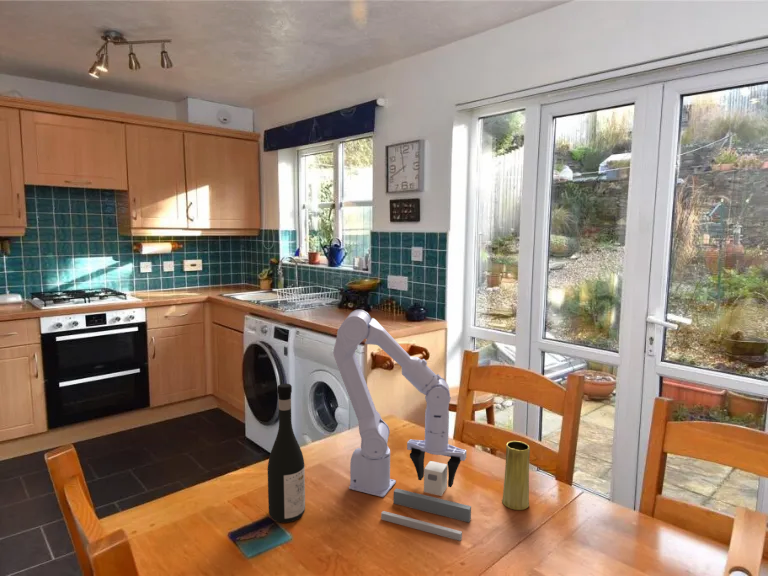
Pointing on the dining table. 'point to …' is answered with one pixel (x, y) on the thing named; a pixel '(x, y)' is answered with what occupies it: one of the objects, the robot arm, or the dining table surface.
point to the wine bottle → (286, 467)
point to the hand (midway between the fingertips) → (435, 481)
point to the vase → (516, 476)
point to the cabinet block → (435, 478)
